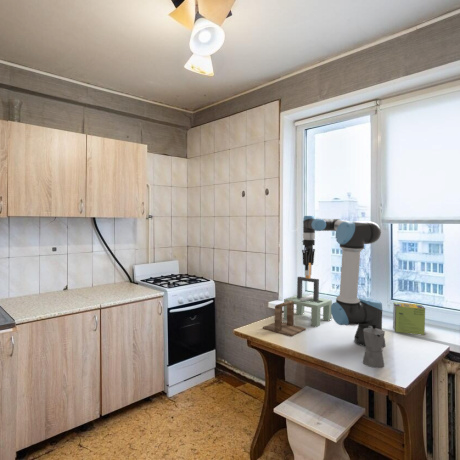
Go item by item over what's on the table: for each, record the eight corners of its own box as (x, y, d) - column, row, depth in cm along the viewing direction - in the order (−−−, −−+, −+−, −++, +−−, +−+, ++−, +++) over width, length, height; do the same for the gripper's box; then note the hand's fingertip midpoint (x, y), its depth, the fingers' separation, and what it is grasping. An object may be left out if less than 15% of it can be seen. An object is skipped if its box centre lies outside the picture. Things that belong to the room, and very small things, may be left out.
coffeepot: (389, 370, 143) (390, 329, 142) (367, 369, 144) (368, 328, 143) (377, 356, 158) (378, 319, 158) (357, 355, 159) (357, 318, 159)
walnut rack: (291, 336, 184) (292, 308, 184) (262, 328, 197) (263, 302, 197) (306, 329, 196) (306, 303, 195) (277, 322, 209) (278, 297, 209)
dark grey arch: (316, 301, 212) (317, 264, 211) (297, 297, 221) (297, 262, 221) (318, 300, 213) (319, 263, 213) (298, 297, 223) (299, 261, 222)
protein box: (425, 335, 189) (425, 308, 188) (395, 332, 194) (395, 305, 193) (420, 329, 199) (421, 304, 198) (392, 326, 204) (393, 301, 203)
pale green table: (317, 326, 202) (317, 301, 202) (283, 318, 218) (284, 295, 218) (331, 319, 217) (331, 296, 216) (299, 312, 233) (299, 291, 232)
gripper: (309, 238, 224) (308, 273, 225) (297, 239, 213) (297, 275, 214) (319, 239, 219) (318, 274, 220) (308, 239, 208) (307, 277, 209)
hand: (308, 274), depth 217 cm, fingers closed on dark grey arch, 2 cm apart
